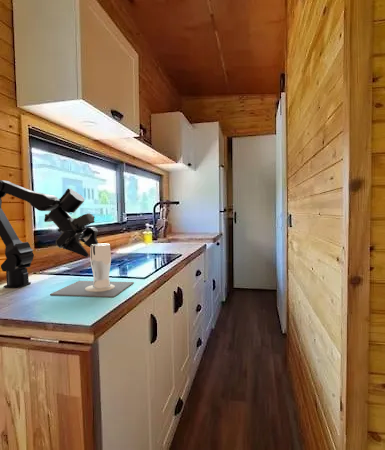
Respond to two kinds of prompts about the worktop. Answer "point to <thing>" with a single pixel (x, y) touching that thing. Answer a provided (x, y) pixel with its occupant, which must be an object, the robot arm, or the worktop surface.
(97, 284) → the beer glass
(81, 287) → the slate mat
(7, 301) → the worktop surface
